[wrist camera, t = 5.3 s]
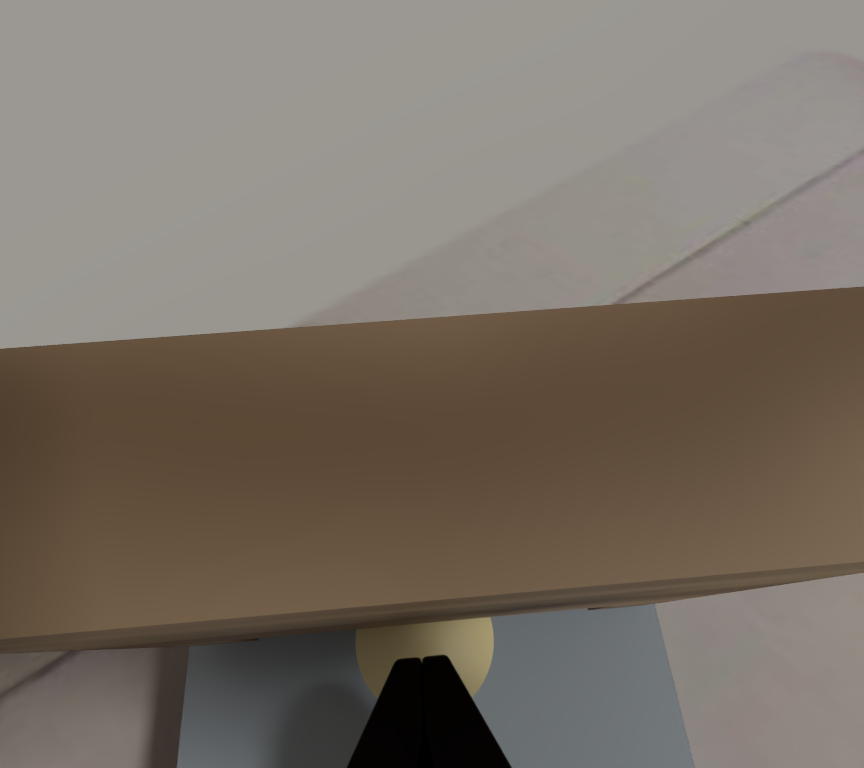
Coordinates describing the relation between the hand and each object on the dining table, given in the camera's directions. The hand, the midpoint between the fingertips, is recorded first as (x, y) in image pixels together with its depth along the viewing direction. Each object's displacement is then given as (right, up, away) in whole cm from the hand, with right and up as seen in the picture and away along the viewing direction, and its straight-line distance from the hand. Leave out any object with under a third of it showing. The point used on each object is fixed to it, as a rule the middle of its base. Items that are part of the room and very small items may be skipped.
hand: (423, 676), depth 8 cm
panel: (0, -1, +7) cm, 7 cm away
